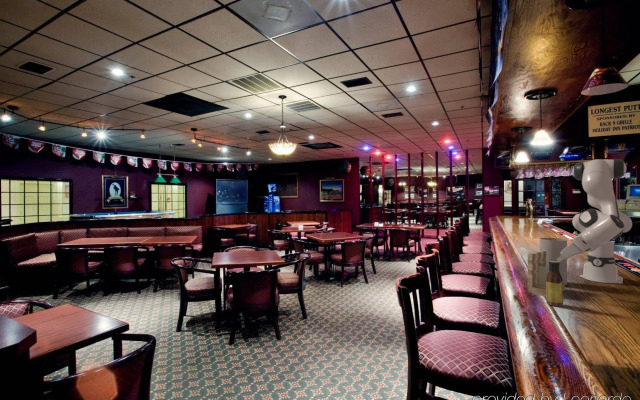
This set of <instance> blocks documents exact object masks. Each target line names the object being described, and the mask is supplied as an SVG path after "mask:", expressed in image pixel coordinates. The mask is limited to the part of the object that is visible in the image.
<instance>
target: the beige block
mask: <svg viewBox="0 0 640 400" xmlns="http://www.w3.org/2000/svg"><path fill="white" fill-rule="evenodd" d="M548 272H549V266H548V265H546V263H542V265H540V266H538V285H541V286H546V275H547V273H548Z"/></svg>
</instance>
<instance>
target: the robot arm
mask: <svg viewBox="0 0 640 400" xmlns="http://www.w3.org/2000/svg"><path fill="white" fill-rule="evenodd" d="M626 172H627V164H626V163H625V161H624V160H623V159H620V158H619V159H618V158H613V159H608V158H607V159H606V158H605V159H601V158H600V159H593V160H590V161H589V160H588V161H580V162H579V161H578V162H576V163H575V164H574V165H573V167H572V175H573V177H574V179H576V180H577V181H581V185H582V189H583V190H584V192H585V193H586V195H587V203H588V205H589V206H591V207H593V208H588V209H585V210H584V211H582V212H580V213H577V214H575V215H574V216H573V218H572V221H571V222H572V223H571V224H572V226H573V227H574V229H576V230H577V231H579V232H580V233H579V234H578V235H576V236H575V237H574V239H572V240H571V243H569V244H567V247H566V248H565V249H563V250H562V251H561V252H560V254H561V256H560V257H559V258H557V259H556V260H557V261H558V262H561V261H562V260H564V259H567V260H568V259H570V258H573V257H576V256H578V255H581V254H583V253H584V252H585V253H587V256H586V262H585V263H584V264H583V273H582V274H579V277H580V278H583V279H585V280H587V281H592V282H596V283H604V284H620V285H621V284H624V283H623V282H624V281H623V280H624V279H623V276H620V273H619V272H618V267H617V266H616V264H615V263H616V258H615V256H614V255H615V253H614V252H615V251H614V246H615V245H614V243H613V242H612V241H611V240H614V239H617V238H618V237H620V236H622V234H623V233H627V232H629V231H630V230H631V229H632V227H633V222H632V218H630V216H628V215H627V214H625V213H623V212H622V211H621V210H620V209H619V206H618V205H619V204H618V201H617V197H616V194H615V192H614V185H613V184H614V183H613V179H614V181H616V180H617V179H621V178H622V177H624V176H625V174H626ZM595 208H596V209H595ZM597 209H598V210H597Z"/></svg>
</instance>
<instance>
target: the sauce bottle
mask: <svg viewBox="0 0 640 400" xmlns="http://www.w3.org/2000/svg"><path fill="white" fill-rule="evenodd" d="M548 264H549V272H548V273H547V275H546V296H545V297H546V298H545V299H546V304H548V305H549V306H551V307H563V306H564V291H563V279H562V276H561V274H560V272H559V265H560V264H559V262H558V261H549V262H548Z"/></svg>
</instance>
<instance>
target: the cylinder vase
mask: <svg viewBox="0 0 640 400" xmlns="http://www.w3.org/2000/svg"><path fill="white" fill-rule="evenodd" d="M567 246H568V239H566V238H559V237H539V251H540V250H547V257H546V265H548V266H549V264H548V262H549V261H557V260H556V259H557V258H559V257H560V256H561V254H560V252H561V251H562V250H563V249H565V248H566V247H567ZM559 264H560V265H559V272H560V274H561V276H562V279H563V282H564V286H566V285H567V284H568V259H564V260H562V261H561V262H559Z"/></svg>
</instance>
